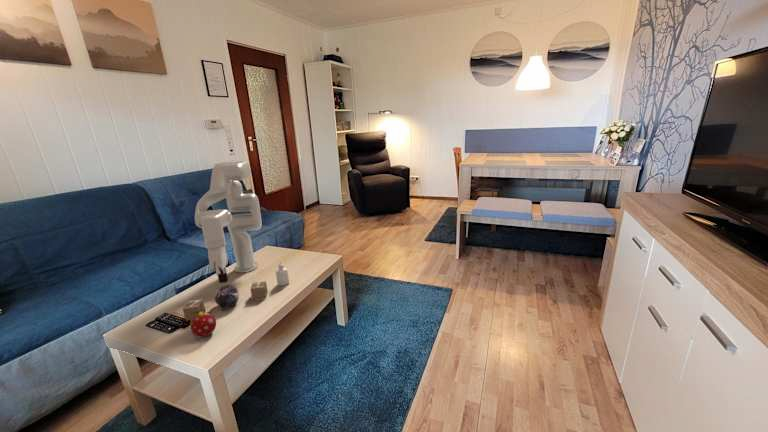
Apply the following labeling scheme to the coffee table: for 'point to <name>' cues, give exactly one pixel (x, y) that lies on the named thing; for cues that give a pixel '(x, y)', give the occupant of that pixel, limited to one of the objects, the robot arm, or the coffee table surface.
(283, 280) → the eye dropper bottle
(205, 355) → the coffee table surface
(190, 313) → the brown cube
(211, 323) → the christmas ornament
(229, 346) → the coffee table surface
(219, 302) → the mineral specimen
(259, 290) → the walnut block
